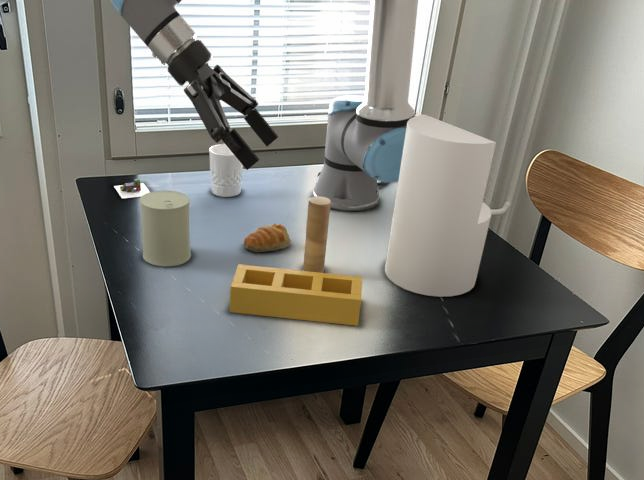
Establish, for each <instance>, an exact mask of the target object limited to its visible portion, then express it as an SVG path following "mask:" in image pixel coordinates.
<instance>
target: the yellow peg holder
mask: <svg viewBox="0 0 644 480" xmlns="http://www.w3.org/2000/svg"><path fill="white" fill-rule="evenodd" d="M229 288H230V290H229V291H230V292H229V293H230V295H229V296H230V297H229V301H230V302H229V313H233V314H235V313H236V314H243V315H251V316H252V315H253V316H261V317H262V316H263V317H271V318H281V319H290V320H300V321H310V322H319V323H329V324H335V325H336V324H337V325H348V326H359V319H360V313H361V304H362V290H363V276H357V275H347V274H339V273H338V274H337V273H329V272H323V273H319V272H309V271H303V270H298V269H289V268H280V267H279V268H278V267H269V266H261V265H248V264H240V263H239V264H238V265H237V267H236V270H235V273H234V276H233V278H232V281H231V284H230V287H229Z"/></svg>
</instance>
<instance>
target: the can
mask: <svg viewBox="0 0 644 480" xmlns="http://www.w3.org/2000/svg"><path fill="white" fill-rule="evenodd" d="M190 201H191V200H190V197H189V196H188V195H187V194H186V193H183V192H180V191H177V190H169V189H168V190H163V189H162V190H153V191H150V192H149V193H146V194H144V195H143V196H141V197H139V203H140V215H141V230H142V231H141V232H142V258H143V260H144V261H145V262H146V263H147V264H150V265H153V266H156V267H164V268H165V267H177V266H181V265H184V264H185V263H187V262H188V261H189V260H191V257H192V252H191V236H190V235H191V232H190V203H191V202H190Z"/></svg>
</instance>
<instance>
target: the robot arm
mask: <svg viewBox="0 0 644 480" xmlns="http://www.w3.org/2000/svg"><path fill="white" fill-rule="evenodd" d="M182 1H183V0H109V2H110V3H111V5H112V6H113V7H114V8H115V10H116V11H117V12H118V13H119V15H120V16H121V17H122V19H123V20H124V21H125V22H126V24H128V26H129V27H130V28H131V29H132V30H133V31H134V33H135V34H136V35H137V36H138V38H140V40H141V41H142V42H143V43H144V44H145V46H146V47H148V49H149V50H150V52H151V56H152V57H153V58H156V59H157V60H158V61H159V63H161V65H162V66H168V67H167V68H166V69H167V72H168V74H169V75H170V76H171V77H172V78H173V80H174V81H175V82H176V83H177V84H178V86H180V87H183V86H185V85H187V86H185V88H183V92H184V94H185V95H186V96H187V97H188V99H189V100H190V101H191V103H192V105H193V107H194V109H195V110H196V112H197V114H198V116H199V118H200V120H201V122H202V123H203V125H204V127H205V129H206V131H207V132H208V134H209V136H210V138H211V139H212V140H213V141H214V142H215V143H219V142H221V141H222V142H223V144H226V146H227V147H228V148H229V149H230V150H231V152H232V153H233V154H234V155H235V156H236V158H237V159H238V160H239V161H240V162H241V164H242V165H243V168H245V170H246V171H248V170H249V169H251V167H253V166H255V164H256V163H258V162H259V161H260V158H259V156H258V155H257V154H256V153H255V152H254V151H253V150H252V148H251V147H250V145H248V143H247V142H246V141H245V140H244V138H243V137H242V136H241V135H240V134H239V133H238V131H237V130H236V129H235V128H231V125H230V123H229V120H228V118H227V116H226V114H225V111H224V108H223V106H222V103H221V101H222V102H224V103H225V104H227V105H228V106H230V107H231V108H233V109H234V110H235V111H236V112H237V111H238V112H239V113H240V114H241V115H243V116H245V117H244V118H243V120H244V121H245V123H247V124H248V126H249V127H250V128H251V130H253V132H254V133H255V134H256V136H257V137H258V138H259V139H260V141H261V142H262V143H263V144H264V145H265V147H269V146H270V145H271V144H272V143H273V142H275V141H276V140H277V139H278V138H279V136H278V134H277V133H276V132H275V130H274V129H273V128H272V127H271V126H270V124H269V123H268V122H267V120H265V119H266V118H264V117H263V115H262V114H261V113H260V111H258V109H257V107H258V106H259V101H258V100H257V99H255V98H254V97H253V96H252V95H251V94H250V93H249V92H247V90H246V89H244V88H243V87H242V86H241V85H240V84H239V83H237V82H236V81H235V80H234V79H233V78H232V77H230V76H229V75H228V74H227V73H226V71H224V69H223V68H222V67H221V66H220V65H219V64H216V65H214V67H211V66H210V65H209V63H210V62H211V61H212V59H213V54H212V53H211V51H210V50H209V49H208V47H207V46H206V45H205V44H204V42H203V41H202V40H199V39H196V38H197V33H196V32H195V31H194V29H192V27H191V26H190V24H189V23H188V22H187V21H186V20H185V18H183V16H182V15H181V14H180V12H179V11H177V9H176V8H175V7H177V5H179V4H180V3H181V2H182ZM418 5H419V0H370V10H369V11H370V13H369V28H368V44H367V58H366V72H365V73H366V74H365V75H366V77H365V88H364V89H365V91H364V95H343V96H342V95H341V96H337V97H336V96H335V97H334V98H333V99H331V101H330V103H329V107H328V111H327V123H326V124H327V125H326V134H325V135H326V136H325V148H324V160H323V164H322V165H323V166H322V169H321V171H319V172H318V173H317V181H316V183H315V184H314V187H313V194H312V197H315V196H321V197H326V198H328V199H330V200H331V206H330V209H332V210H336V211H343V212H360V211H366V210H370V209H373V208H375V207H376V206H377V205H378V204H379V199H380V190H379V188H378V187H382V186H384V185H385V184H386V183H394V182H397V181H398V180H399V174H400V167H401V161H402V154H403V147H404V141H405V134H406V128H407V122H408V121H409V119H410V118H413V117H415V114H416V113H415V109H414V108H413V107H412V106H411V105H410V102H409V98H410V97H409V96H410V85H411V78H412V77H411V76H412V65H413V55H414V47H415V35H416V25H417V16H418Z"/></svg>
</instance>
